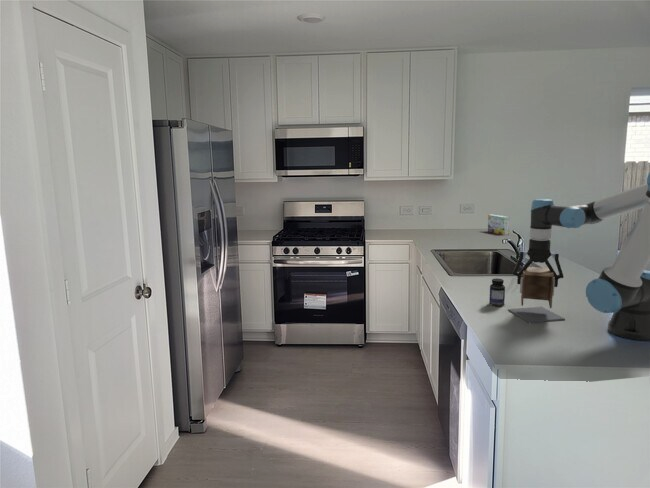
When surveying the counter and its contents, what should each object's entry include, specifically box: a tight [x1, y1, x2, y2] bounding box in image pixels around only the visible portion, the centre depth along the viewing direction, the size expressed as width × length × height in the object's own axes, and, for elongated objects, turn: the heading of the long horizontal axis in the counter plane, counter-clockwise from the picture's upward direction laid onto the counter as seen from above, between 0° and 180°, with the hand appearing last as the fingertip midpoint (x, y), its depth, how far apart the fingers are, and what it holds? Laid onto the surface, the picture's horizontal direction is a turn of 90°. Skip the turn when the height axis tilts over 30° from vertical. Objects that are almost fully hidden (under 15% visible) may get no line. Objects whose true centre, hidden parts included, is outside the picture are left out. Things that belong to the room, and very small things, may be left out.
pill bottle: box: [488, 277, 506, 307], centre depth 196 cm, size 6×6×11 cm
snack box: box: [487, 213, 510, 236], centre depth 381 cm, size 21×6×15 cm, turn 17°
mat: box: [507, 306, 566, 324], centre depth 182 cm, size 15×15×1 cm
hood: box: [520, 266, 554, 309], centre depth 181 cm, size 11×11×13 cm
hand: (536, 293), depth 181 cm, fingers closed on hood, 11 cm apart
